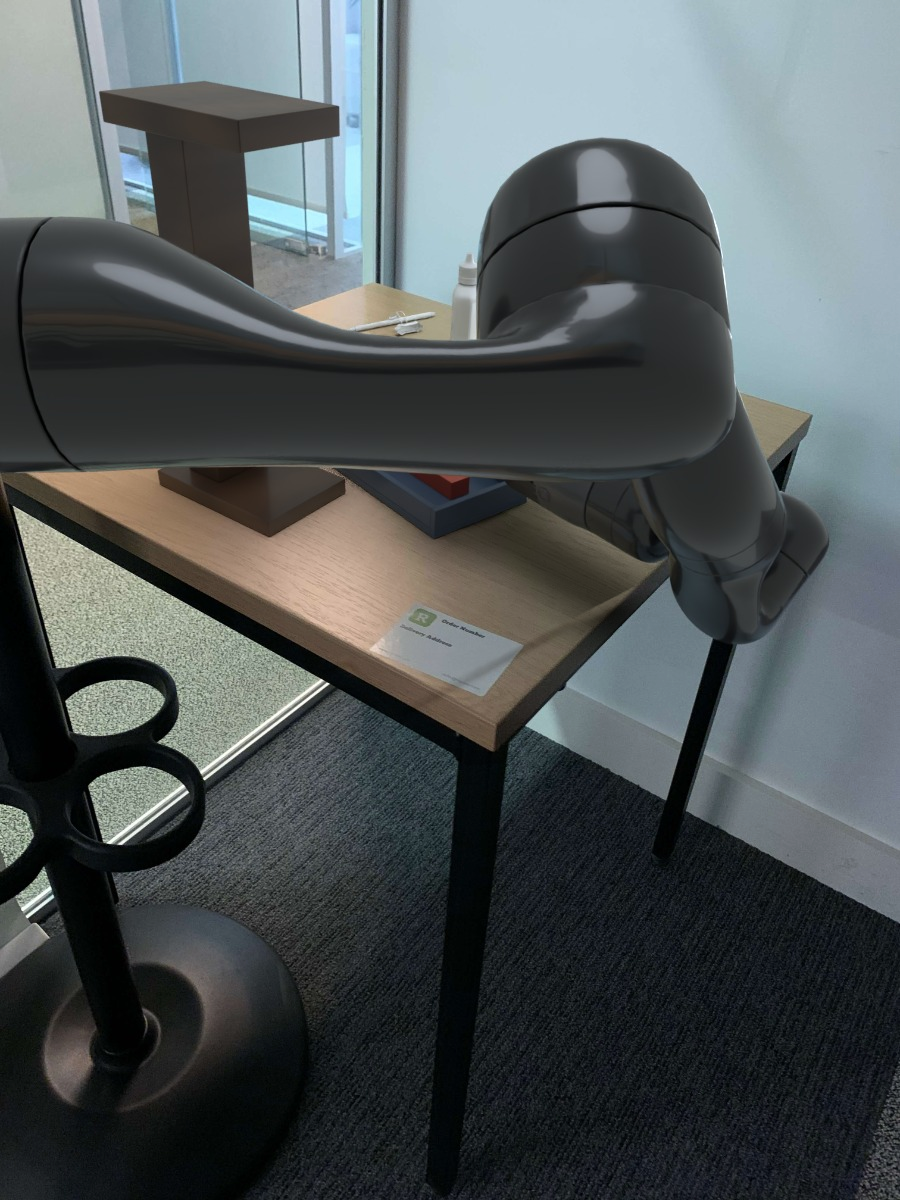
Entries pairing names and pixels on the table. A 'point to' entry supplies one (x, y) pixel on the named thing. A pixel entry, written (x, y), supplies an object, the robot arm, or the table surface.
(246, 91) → the shelf stand
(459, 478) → the brush
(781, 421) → the table surface
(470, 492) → the tray
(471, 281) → the eye dropper bottle
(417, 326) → the picture light
